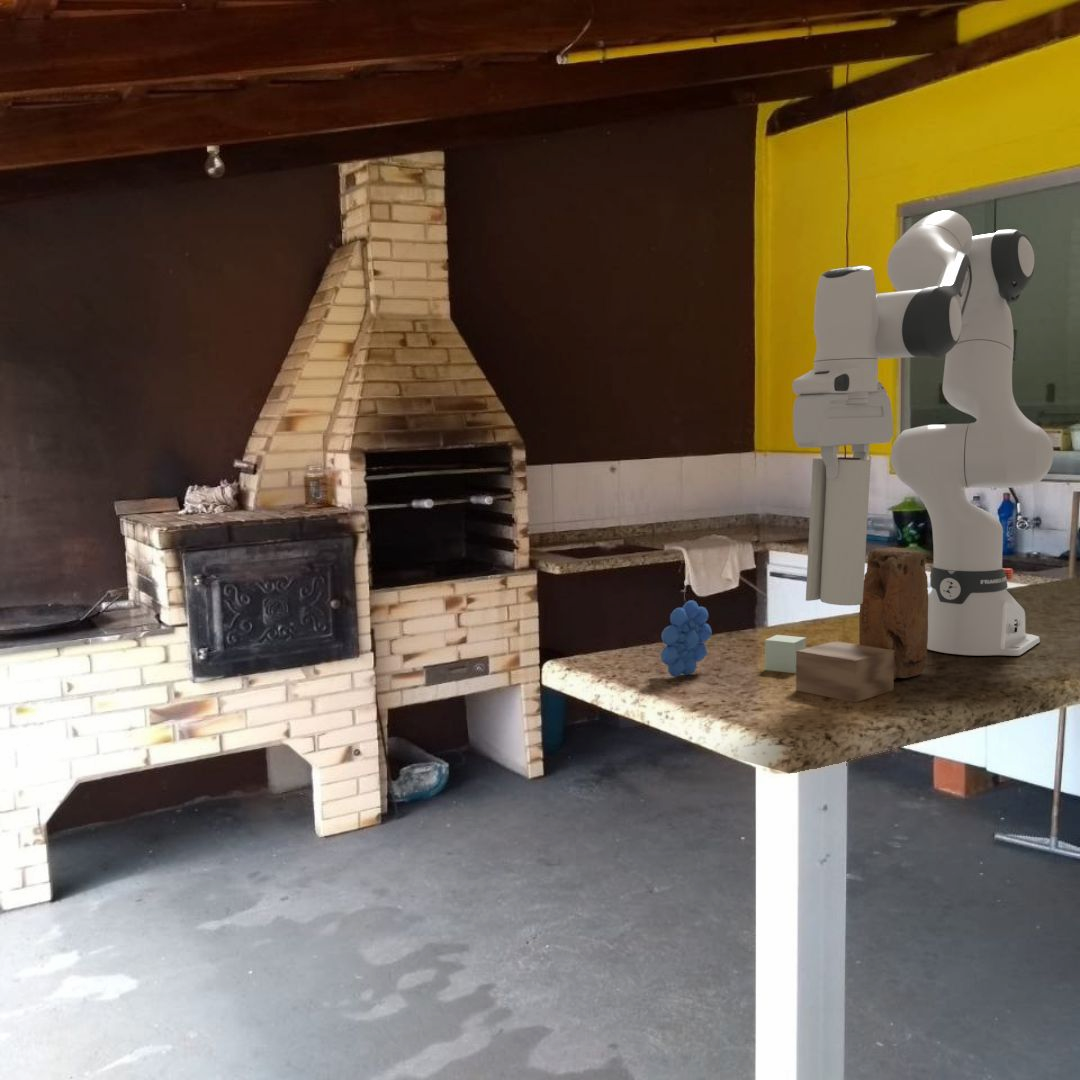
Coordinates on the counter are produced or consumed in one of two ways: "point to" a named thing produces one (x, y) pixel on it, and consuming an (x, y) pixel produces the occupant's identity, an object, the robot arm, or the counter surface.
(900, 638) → the block
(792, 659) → the green cube
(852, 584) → the paper towel roll
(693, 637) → the grapes
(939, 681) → the counter surface
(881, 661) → the walnut block
